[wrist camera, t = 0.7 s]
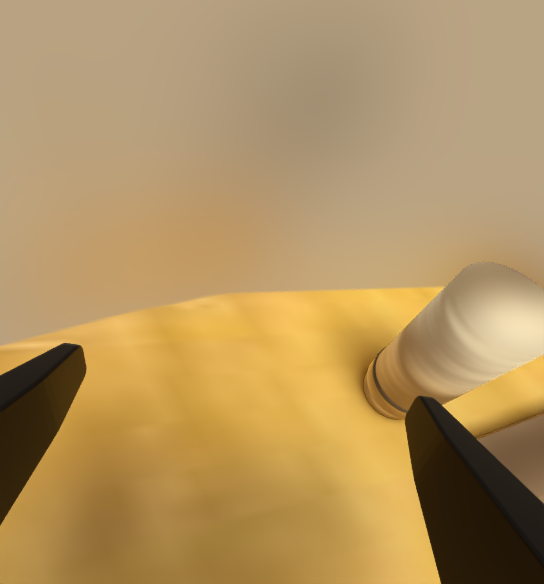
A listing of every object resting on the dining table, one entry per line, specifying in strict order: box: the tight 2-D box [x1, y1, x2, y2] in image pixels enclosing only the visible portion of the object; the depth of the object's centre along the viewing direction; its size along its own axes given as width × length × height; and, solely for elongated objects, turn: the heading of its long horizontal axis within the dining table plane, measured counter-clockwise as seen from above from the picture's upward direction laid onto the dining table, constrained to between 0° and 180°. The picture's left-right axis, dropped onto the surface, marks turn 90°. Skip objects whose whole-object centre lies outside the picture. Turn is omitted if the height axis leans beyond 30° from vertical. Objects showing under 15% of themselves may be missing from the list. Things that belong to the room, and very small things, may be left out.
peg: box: [364, 262, 544, 419], centre depth 21 cm, size 5×5×13 cm
